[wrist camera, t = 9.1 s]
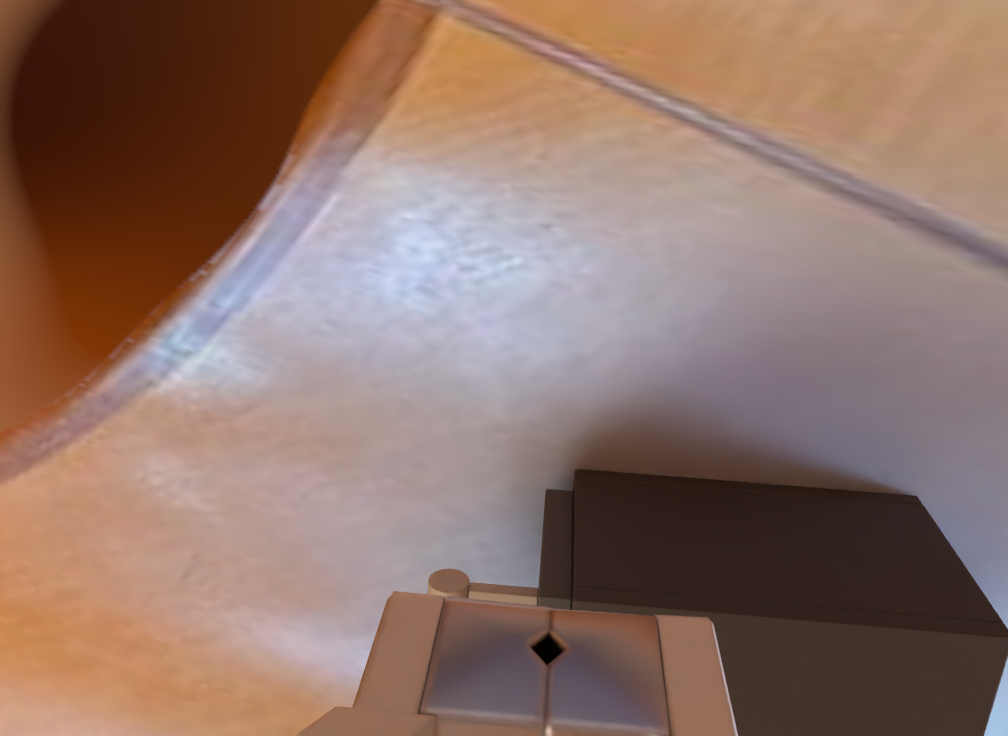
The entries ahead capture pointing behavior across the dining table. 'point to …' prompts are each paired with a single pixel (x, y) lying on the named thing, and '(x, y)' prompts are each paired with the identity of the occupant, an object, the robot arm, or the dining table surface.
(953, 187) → the dining table surface
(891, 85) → the dining table surface
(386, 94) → the dining table surface
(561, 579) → the drawer
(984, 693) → the cabinet
